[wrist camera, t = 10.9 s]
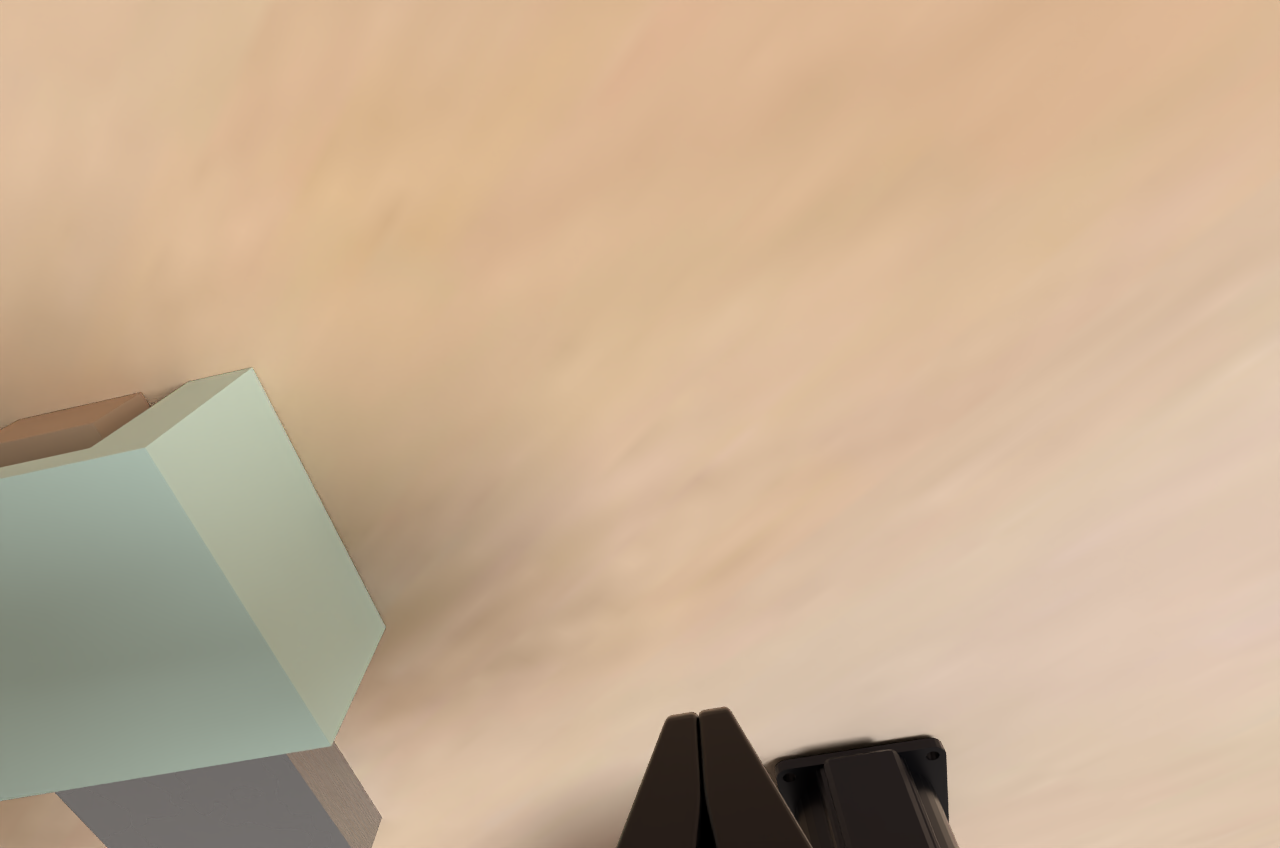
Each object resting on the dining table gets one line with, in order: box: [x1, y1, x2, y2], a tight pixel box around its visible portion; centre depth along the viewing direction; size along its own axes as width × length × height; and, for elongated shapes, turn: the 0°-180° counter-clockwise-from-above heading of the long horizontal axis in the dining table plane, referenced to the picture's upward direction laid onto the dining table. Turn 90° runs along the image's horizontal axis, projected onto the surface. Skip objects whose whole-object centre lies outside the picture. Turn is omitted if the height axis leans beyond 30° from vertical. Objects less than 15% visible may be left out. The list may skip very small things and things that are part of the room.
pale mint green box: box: [0, 368, 386, 801], centre depth 21 cm, size 10×17×5 cm, turn 103°
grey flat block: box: [55, 742, 382, 848], centre depth 24 cm, size 18×9×2 cm, turn 13°
